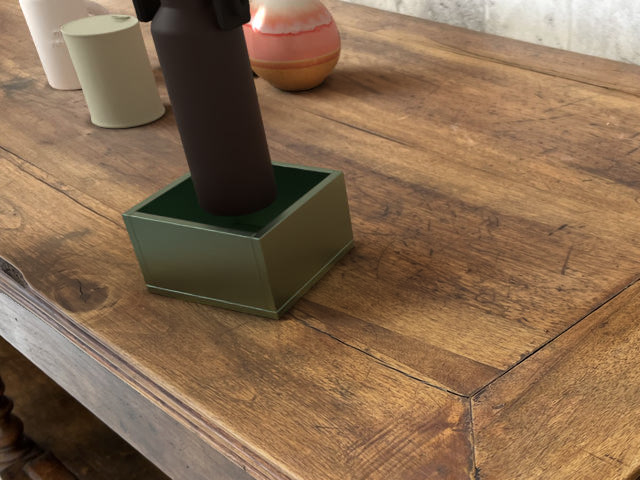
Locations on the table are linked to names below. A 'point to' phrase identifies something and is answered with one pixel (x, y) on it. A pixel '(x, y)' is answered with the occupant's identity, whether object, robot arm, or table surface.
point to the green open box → (244, 242)
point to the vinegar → (214, 108)
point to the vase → (292, 42)
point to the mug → (57, 35)
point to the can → (114, 70)
